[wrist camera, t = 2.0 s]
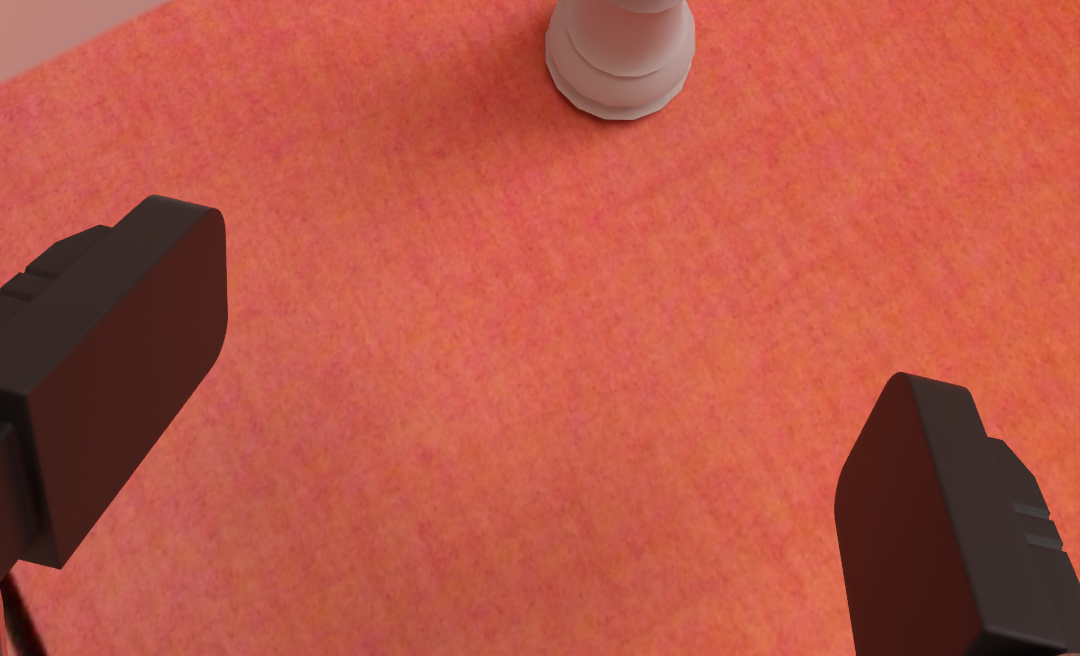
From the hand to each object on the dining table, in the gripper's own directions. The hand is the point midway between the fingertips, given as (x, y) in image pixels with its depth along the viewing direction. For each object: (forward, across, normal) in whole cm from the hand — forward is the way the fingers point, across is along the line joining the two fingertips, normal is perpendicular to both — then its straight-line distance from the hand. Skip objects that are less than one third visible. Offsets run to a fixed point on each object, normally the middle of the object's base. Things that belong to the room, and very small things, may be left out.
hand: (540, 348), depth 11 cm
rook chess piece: (+19, 0, +3) cm, 19 cm away
